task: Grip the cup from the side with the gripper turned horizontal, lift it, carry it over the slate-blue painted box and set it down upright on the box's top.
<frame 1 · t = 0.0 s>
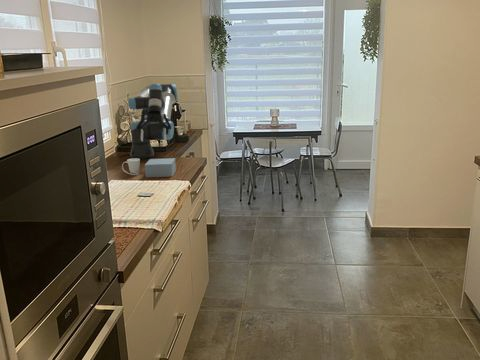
hand: (153, 139, 262), 15 cm above the worktop, tool tilted 35°, fingers open, 13 cm apart
slate box: (161, 174, 246), on the worktop
cup: (132, 174, 247), on the worktop
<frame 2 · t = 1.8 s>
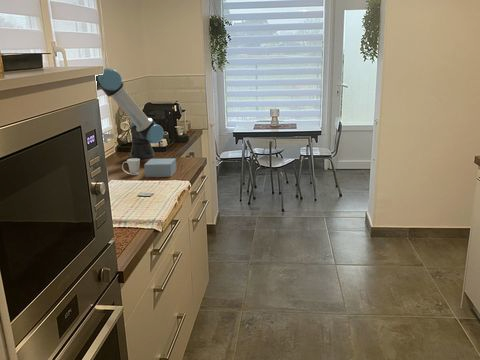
hand: (111, 137, 242), 20 cm above the worktop, tool horizontal, fingers open, 13 cm apart
nothing on the worktop moved.
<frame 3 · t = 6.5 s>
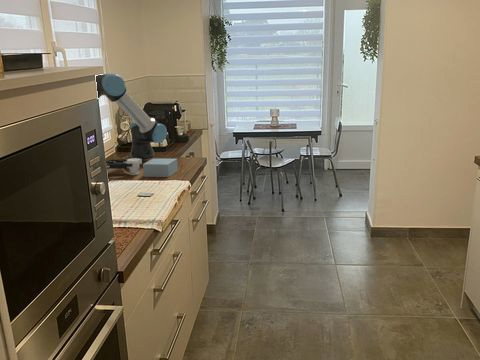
hand: (140, 163, 245), 6 cm above the worktop, tool horizontal, fingers closed on cup, 7 cm apart
cup: (132, 174, 247), on the worktop, touching gripper
when the fingers open (14 cm above the worktop, at t = 10.1 s): cup drops 2 cm, resting on slate box.
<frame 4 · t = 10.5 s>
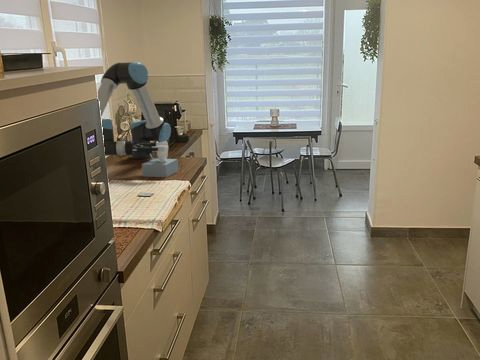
hand: (166, 146, 243), 14 cm above the worktop, tool horizontal, fingers open, 12 cm apart
slate box: (161, 174, 246), on the worktop, touching cup
cup: (160, 161, 245), point 6 cm above the worktop, touching slate box
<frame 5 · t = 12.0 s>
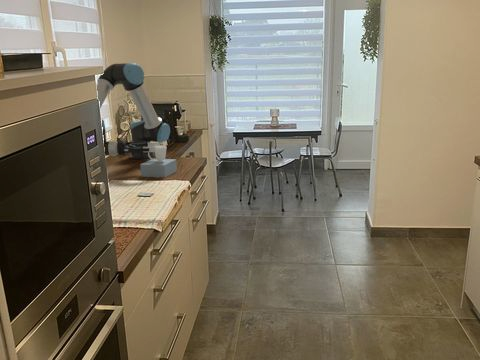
hand: (157, 146, 243), 15 cm above the worktop, tool horizontal, fingers open, 13 cm apart
cup: (157, 161, 245), point 7 cm above the worktop, touching slate box
everything else where it was.
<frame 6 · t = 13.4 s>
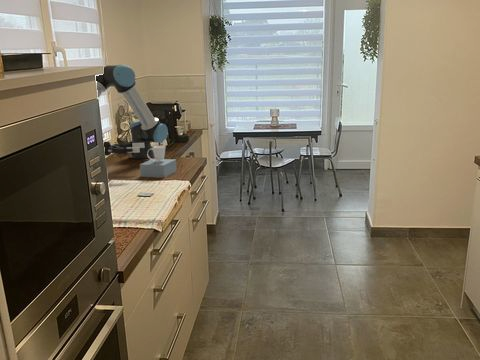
hand: (141, 147, 243), 15 cm above the worktop, tool horizontal, fingers open, 13 cm apart
slate box: (159, 174, 246), on the worktop
cup: (156, 162, 244), point 6 cm above the worktop
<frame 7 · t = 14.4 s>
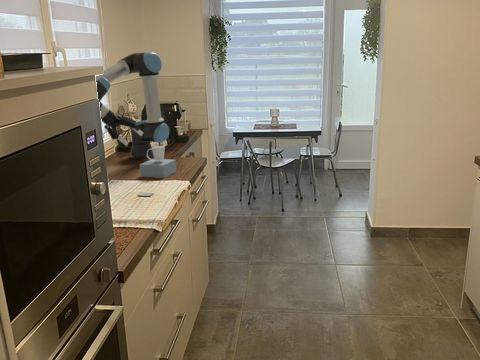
hand: (134, 139, 254), 17 cm above the worktop, tool tilted 45°, fingers open, 13 cm apart
slate box: (158, 174, 246), on the worktop, touching cup
cup: (156, 162, 244), point 6 cm above the worktop, touching slate box
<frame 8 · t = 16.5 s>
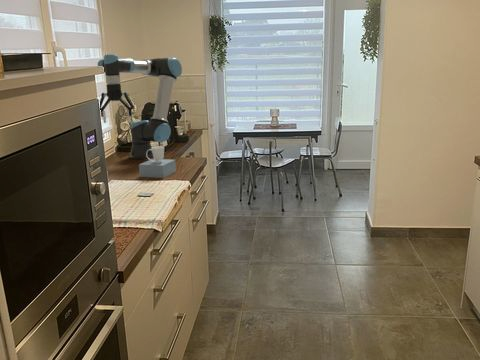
hand: (117, 122, 254), 27 cm above the worktop, tool pointing down, fingers open, 13 cm apart
nothing on the worktop moved.
at the end: cup inside the target area on the slate box (0.7 cm from its centre), point 6.8 cm above the slate box's base; cup tilted 0°; cup touching slate box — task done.
